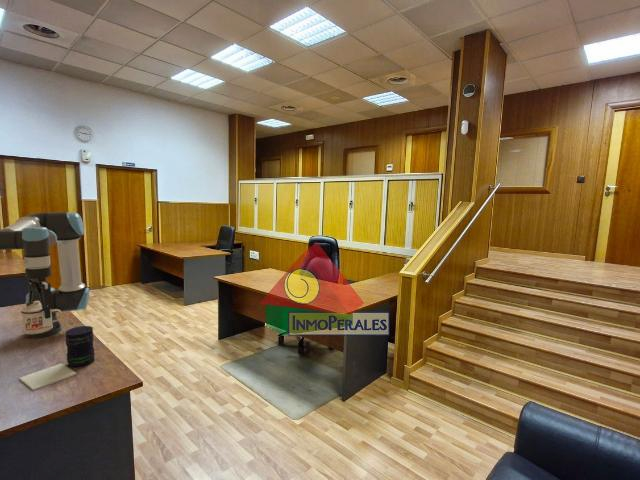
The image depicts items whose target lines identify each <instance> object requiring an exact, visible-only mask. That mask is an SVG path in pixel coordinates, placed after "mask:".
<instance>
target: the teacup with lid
mask: <svg viewBox="0 0 640 480" xmlns="http://www.w3.org/2000/svg"><path fill="white" fill-rule="evenodd" d="M41 309H42V305H41V303H40V301H34V302H33V304H31V305H29V306H28V307H24V308H22V309H21V312H20V313H21V316H22V327H23V334H24V333H25V334H38V333H42V332H46V331H48V330H50V329H52V328H53V323H52V325H50V326H46V327H43V324H42V311H40V310H41ZM55 311H57V312H56V313H59V316H58V317H57V319H56V320H52V322H56V321H58V320H59V321H60V319H61V318H62V316H63V312H61V311H60V310H58V309H54V310H51V317H52V312H55Z"/></svg>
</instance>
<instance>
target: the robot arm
mask: <svg viewBox="0 0 640 480" xmlns="http://www.w3.org/2000/svg"><path fill="white" fill-rule="evenodd" d="M84 234H85V228H84V222H83V219H82V216H81V215H80V214H79V213H77V212H70V211H69V212H67V211H66V212H65V211H64V212H61V211H60V212H54V211H53V212H45V211H43V212H36V213H31V214H27V215H25V216H22V217H20V218H18V219H16V221H15V222H14V223H12V224H10V225H8V226H6V227H4V228H1V229H0V251H7V250H11V251H12V250H13V251H14V250H22V251H23V260H22V263H24V267H25V270H24V271H25V274H24V275H25V278H26V279H28V293H27V294H26V295H25V306H26V307H28V306H29V305H31V304H33V302H34V301H40V303H41V305H42V309H41V310H40V311H42V324H43V327H46V326H50V325H52V323H53V328H52V329H50V330H48V331H46V332H42V333H38V334H25V333H24V332H23V334H24V335H23V336H24V338H27V339H37V338H45V337H46V338H47V337H49V336H53V335H55V334H58V333H59V332H61V331H62V325H61V322H60V319H59V320H58V321H56V322H52V320H56V319H57V318H58V317H57V313H58V312H57V311H55V312H52V317H51V310H54V309H58V310H60V311H61V312H62V313H63V312H74V311H79V310H85V309H87V307H88V304H89V298H90V288H89V287H86V284H85V283H84V282H82V272H81V262H80V251H79V242H78V241H80V240H81V239H82V236H83V235H84ZM55 244H57V245H56V246H57V254H58V255H57V256H58V263H59V273H60V281H61V285H60V286H59V287H58V289H57V290H56V289H55V288H54V287H51V283H50V282H48V280H47V278H49V277H50V276H52V267H51V264H52V263H51V255H50V248H51V247H53V246H55Z"/></svg>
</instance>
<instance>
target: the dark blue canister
mask: <svg viewBox="0 0 640 480" xmlns="http://www.w3.org/2000/svg"><path fill="white" fill-rule="evenodd" d="M94 335H95V334H94V327H93V326H90V325H81V326H76V327H73V328H70V329H67V330H66V331H65V345H66V349H67V350H66V351H67V353H66V362H67V367H68V368H69V369H80V368H84V367H88V366H89V365H91V364H93V363H94V362H95V359H96V358H95V356H96V355H95V354H96V353H95V347H94V339H95V338H94Z"/></svg>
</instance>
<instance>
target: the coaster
mask: <svg viewBox="0 0 640 480" xmlns="http://www.w3.org/2000/svg"><path fill="white" fill-rule="evenodd" d="M76 375H77V372H76V371H75V370H73V369H72V368H69V367H68V366H66V365H64V364H63V363H59V364H56V365H53V366H50V367H46V368H45V369H42V370H39V371H35V372H33V373H30V374H26V375H24V376H21V377H19V380H20V381H21V382H23V384H25V385H26V386H27V387H28V388H30V389H31V390H32V391H36V390H39V389H41V388H44V387H47V386H50V385H53V384H55V383H57V382H61V381H63V380H65V379H69V378H70V377H74V376H76Z"/></svg>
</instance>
